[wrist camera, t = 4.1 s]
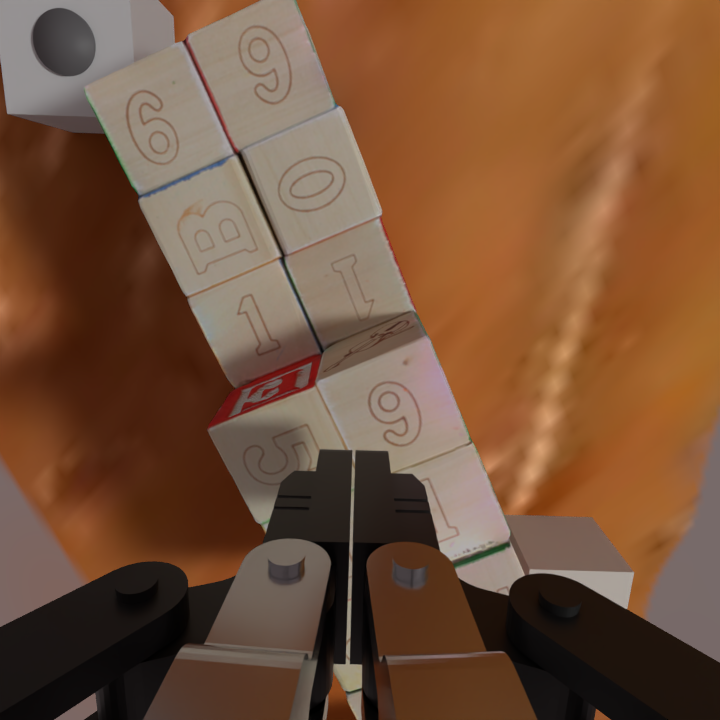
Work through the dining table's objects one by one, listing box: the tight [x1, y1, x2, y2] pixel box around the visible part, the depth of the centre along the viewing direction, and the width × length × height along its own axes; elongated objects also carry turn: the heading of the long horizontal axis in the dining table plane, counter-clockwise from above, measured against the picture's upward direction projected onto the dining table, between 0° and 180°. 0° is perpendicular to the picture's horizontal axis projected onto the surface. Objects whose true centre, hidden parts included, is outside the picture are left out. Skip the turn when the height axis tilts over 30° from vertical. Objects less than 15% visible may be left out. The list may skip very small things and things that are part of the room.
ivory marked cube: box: [504, 515, 634, 609], centre depth 26 cm, size 4×4×5 cm
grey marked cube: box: [0, 0, 175, 134], centre depth 20 cm, size 4×4×5 cm
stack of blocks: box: [84, 0, 525, 720], centre depth 19 cm, size 21×6×12 cm, turn 22°
